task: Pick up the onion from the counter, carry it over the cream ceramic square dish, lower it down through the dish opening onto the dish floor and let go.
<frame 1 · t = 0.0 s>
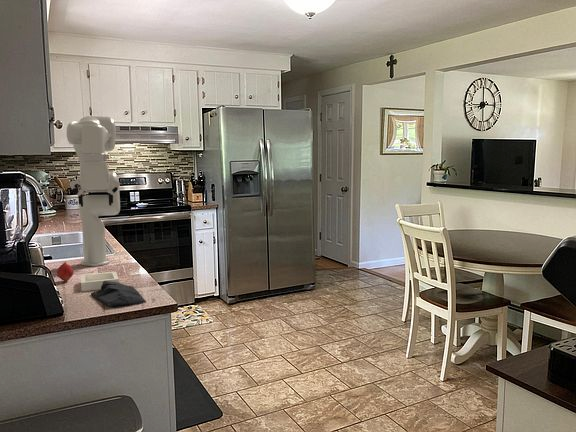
hand: (96, 205, 170), 31 cm above the countertop, tool pointing down, fingers open, 9 cm apart
dish: (99, 284, 179), on the countertop
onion: (65, 281, 184), on the countertop
dark grey folded cloth: (118, 299, 163), on the countertop
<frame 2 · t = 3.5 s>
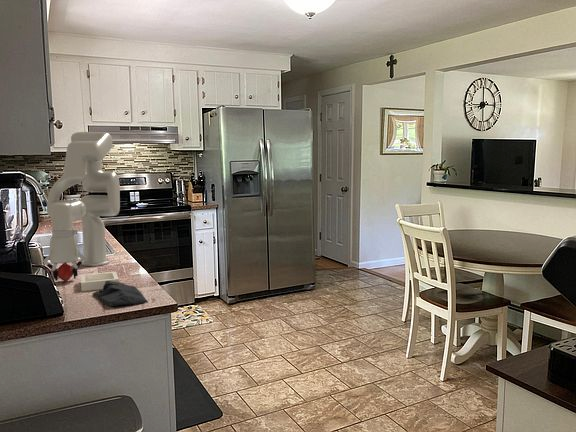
hand: (65, 278, 184), 1 cm above the countertop, tool pointing down, fingers closed on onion, 5 cm apart
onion: (65, 281, 184), on the countertop, touching gripper
when the fingers open (4 cm above the countertop, at t = 8.9 s): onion drops 2 cm, resting on dish.
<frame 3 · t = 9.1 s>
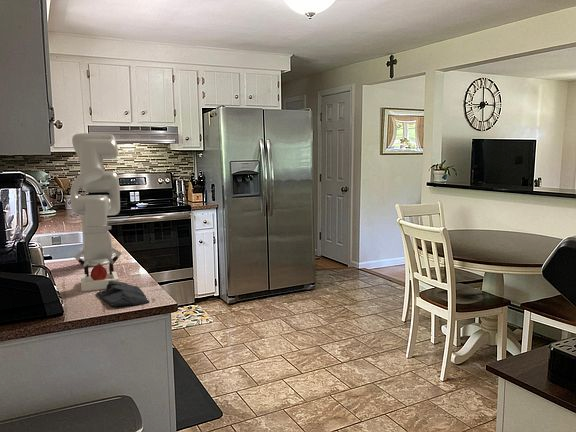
hand: (99, 274, 178), 4 cm above the countertop, tool pointing down, fingers open, 7 cm apart
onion: (99, 283, 179), resting on dish
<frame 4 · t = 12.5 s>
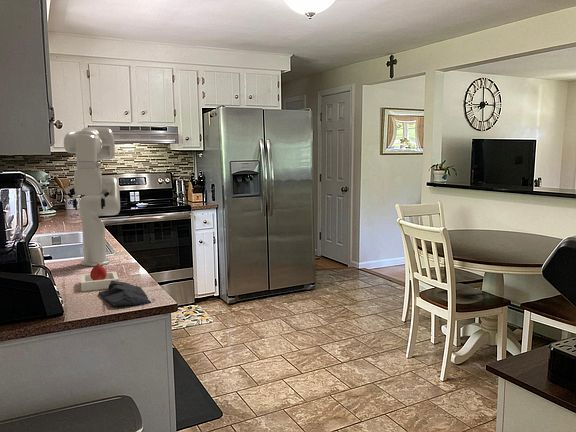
hand: (89, 209, 185), 28 cm above the countertop, tool pointing down, fingers open, 9 cm apart
at the end: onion 0.3 cm off-centre on the dish, point 0.4 cm above the dish's base; the gripper is holding nothing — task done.
